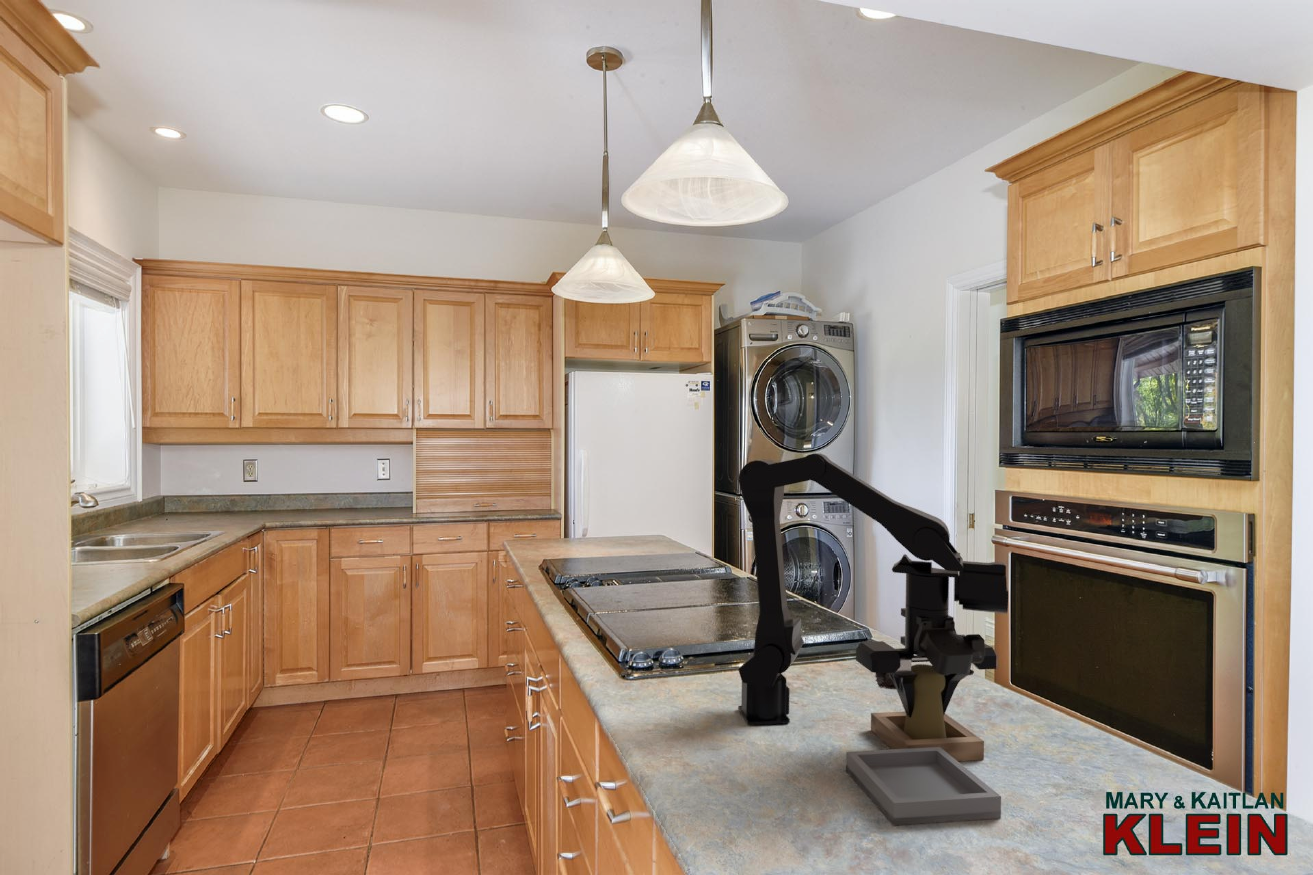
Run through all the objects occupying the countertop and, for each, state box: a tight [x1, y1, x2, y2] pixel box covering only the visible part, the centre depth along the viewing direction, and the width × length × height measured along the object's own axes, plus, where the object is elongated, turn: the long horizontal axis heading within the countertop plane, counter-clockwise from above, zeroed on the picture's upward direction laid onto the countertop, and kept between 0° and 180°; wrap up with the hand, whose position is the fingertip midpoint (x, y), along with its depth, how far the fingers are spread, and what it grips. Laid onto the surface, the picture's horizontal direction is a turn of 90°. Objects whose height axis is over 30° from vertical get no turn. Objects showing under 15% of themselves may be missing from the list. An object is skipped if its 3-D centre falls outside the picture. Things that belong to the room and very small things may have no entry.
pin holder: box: [870, 711, 985, 762], centre depth 101 cm, size 11×11×2 cm
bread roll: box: [875, 673, 897, 690], centre depth 126 cm, size 11×8×4 cm
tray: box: [845, 747, 1002, 826], centre depth 87 cm, size 13×13×2 cm
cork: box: [904, 663, 946, 740], centre depth 101 cm, size 6×6×11 cm
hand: (925, 715), depth 101 cm, fingers closed on cork, 4 cm apart
